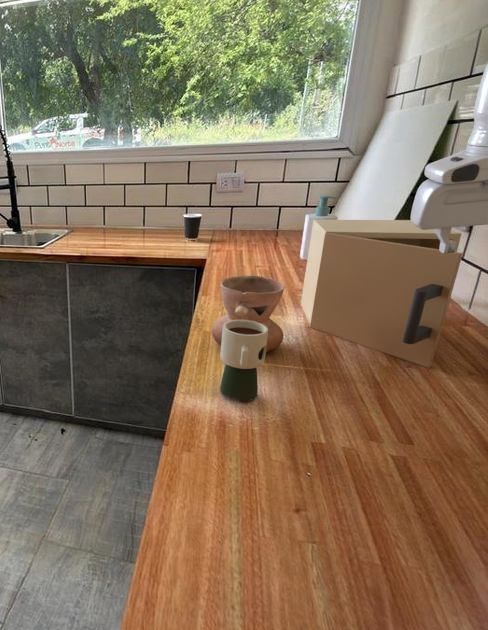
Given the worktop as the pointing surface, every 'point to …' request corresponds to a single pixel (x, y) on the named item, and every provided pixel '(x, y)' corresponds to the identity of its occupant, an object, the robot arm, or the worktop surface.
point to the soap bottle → (320, 215)
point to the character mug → (242, 357)
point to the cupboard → (370, 230)
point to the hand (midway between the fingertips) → (481, 249)
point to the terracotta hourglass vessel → (251, 305)
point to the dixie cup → (192, 225)
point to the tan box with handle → (384, 295)
